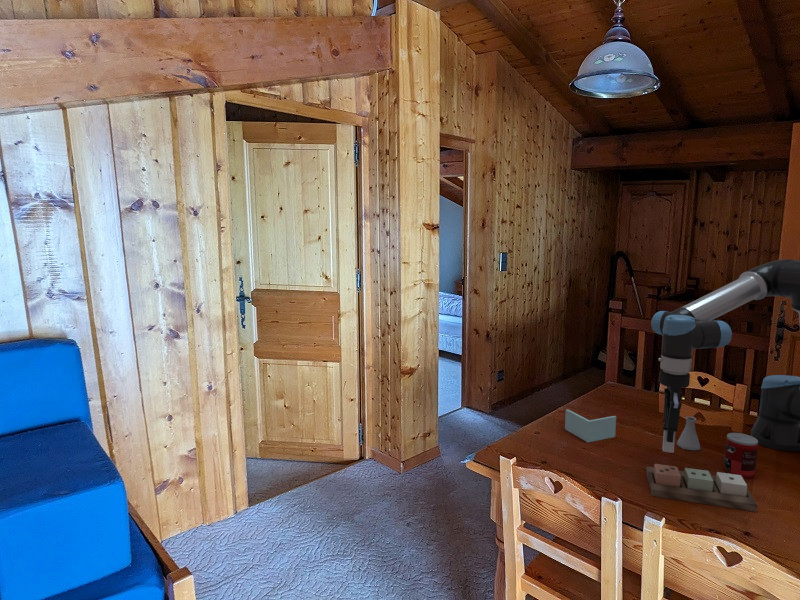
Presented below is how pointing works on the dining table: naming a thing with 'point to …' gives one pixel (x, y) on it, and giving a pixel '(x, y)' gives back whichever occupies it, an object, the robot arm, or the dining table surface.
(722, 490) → the tile one
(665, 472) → the tile three
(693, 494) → the button board
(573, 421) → the right angle wall
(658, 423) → the dining table surface
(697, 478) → the tile two
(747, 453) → the canned food
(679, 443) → the flask
